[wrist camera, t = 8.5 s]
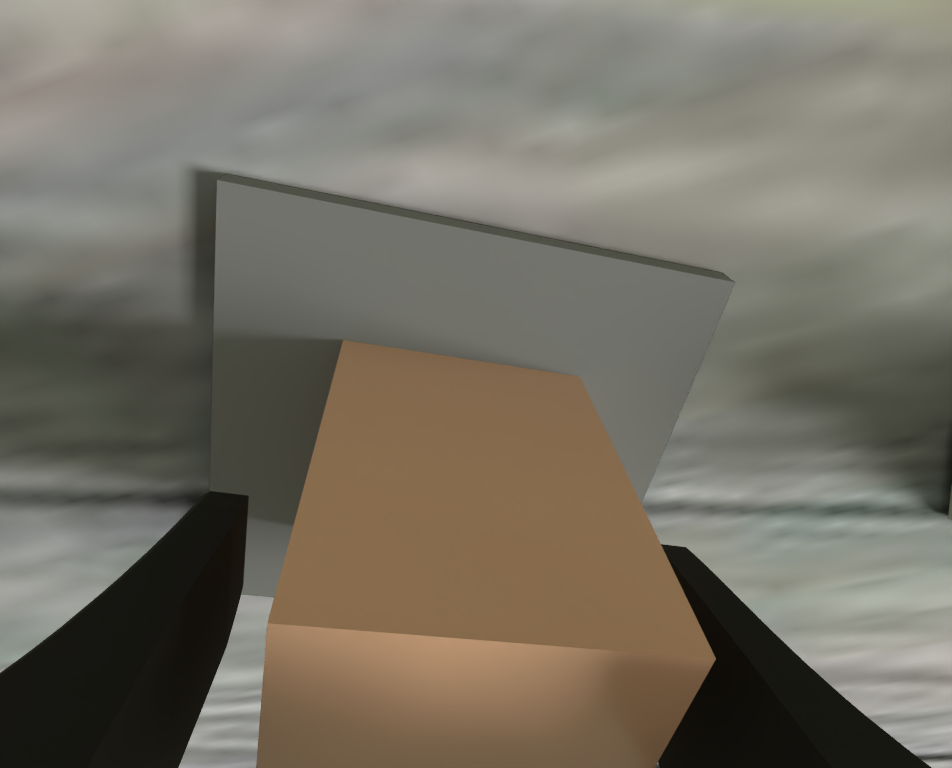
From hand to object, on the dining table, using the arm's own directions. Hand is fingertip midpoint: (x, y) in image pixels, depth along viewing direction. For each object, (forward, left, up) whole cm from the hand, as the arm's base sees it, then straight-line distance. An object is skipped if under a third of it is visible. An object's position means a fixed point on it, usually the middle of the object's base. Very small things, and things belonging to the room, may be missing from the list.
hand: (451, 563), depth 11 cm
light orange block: (0, 0, -3) cm, 3 cm away
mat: (0, 0, -4) cm, 4 cm away
